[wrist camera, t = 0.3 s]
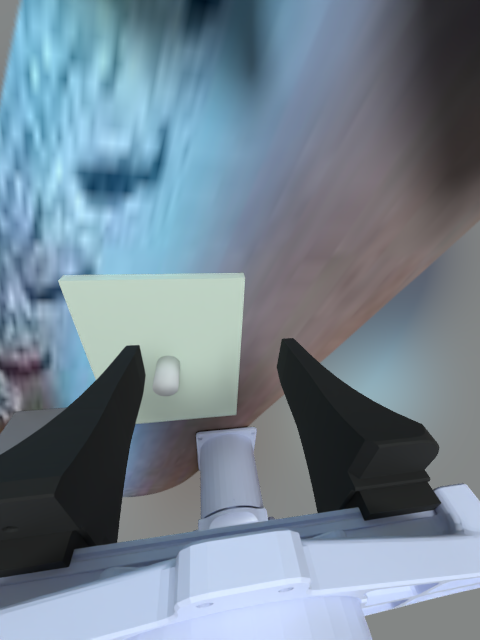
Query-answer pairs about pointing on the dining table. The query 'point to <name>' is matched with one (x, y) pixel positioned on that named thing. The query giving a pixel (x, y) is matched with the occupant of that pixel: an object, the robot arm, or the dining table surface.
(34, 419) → the duct sleeve
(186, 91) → the dining table surface
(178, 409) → the duct base
